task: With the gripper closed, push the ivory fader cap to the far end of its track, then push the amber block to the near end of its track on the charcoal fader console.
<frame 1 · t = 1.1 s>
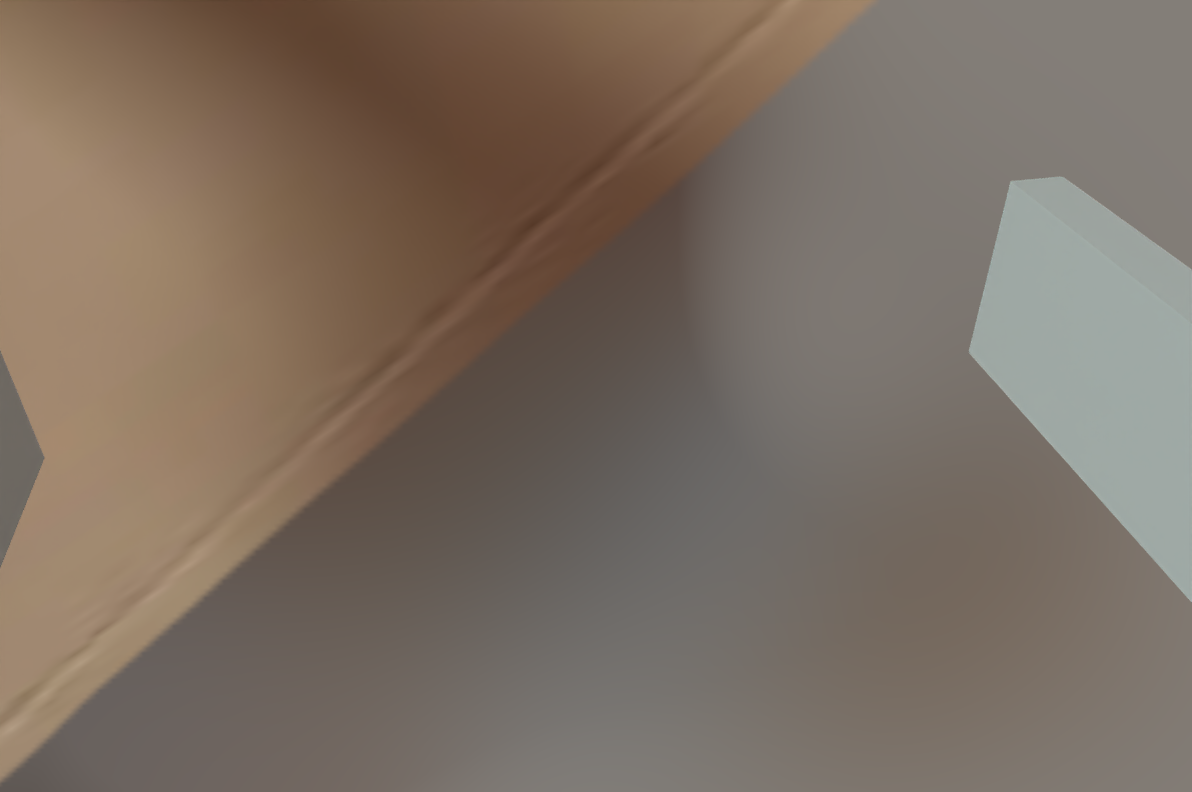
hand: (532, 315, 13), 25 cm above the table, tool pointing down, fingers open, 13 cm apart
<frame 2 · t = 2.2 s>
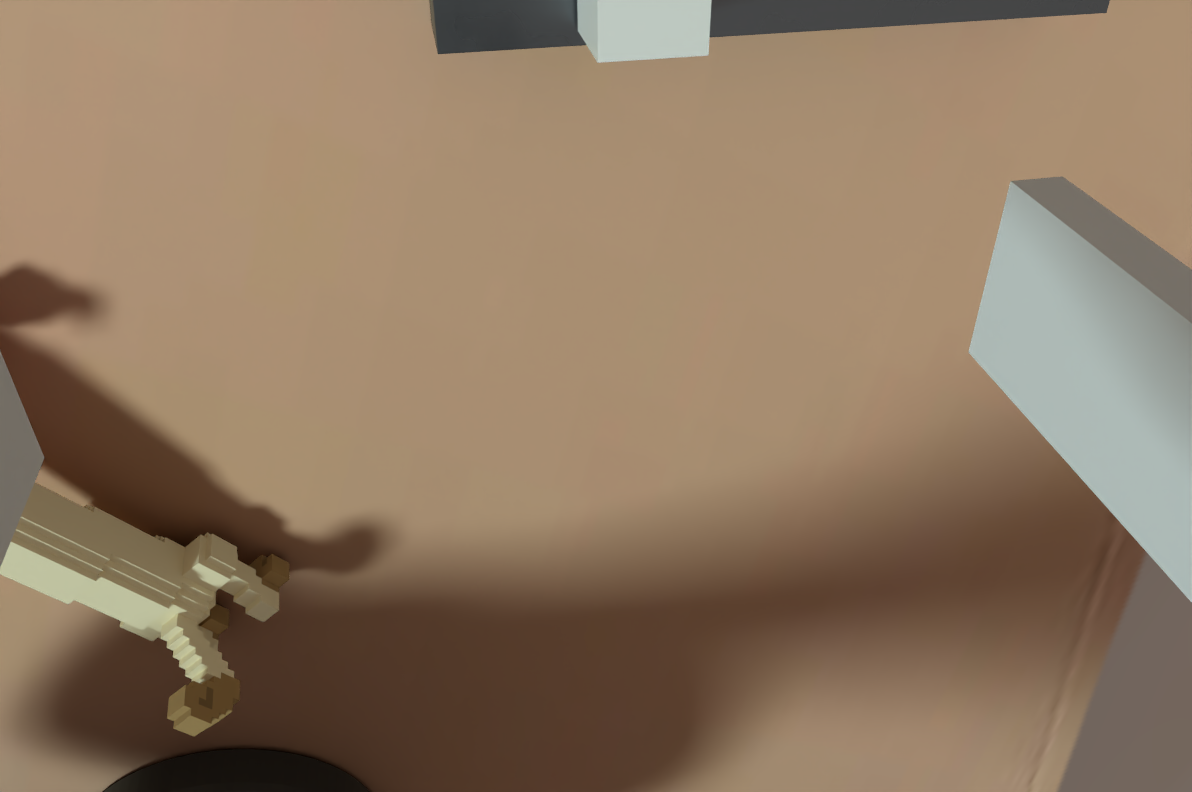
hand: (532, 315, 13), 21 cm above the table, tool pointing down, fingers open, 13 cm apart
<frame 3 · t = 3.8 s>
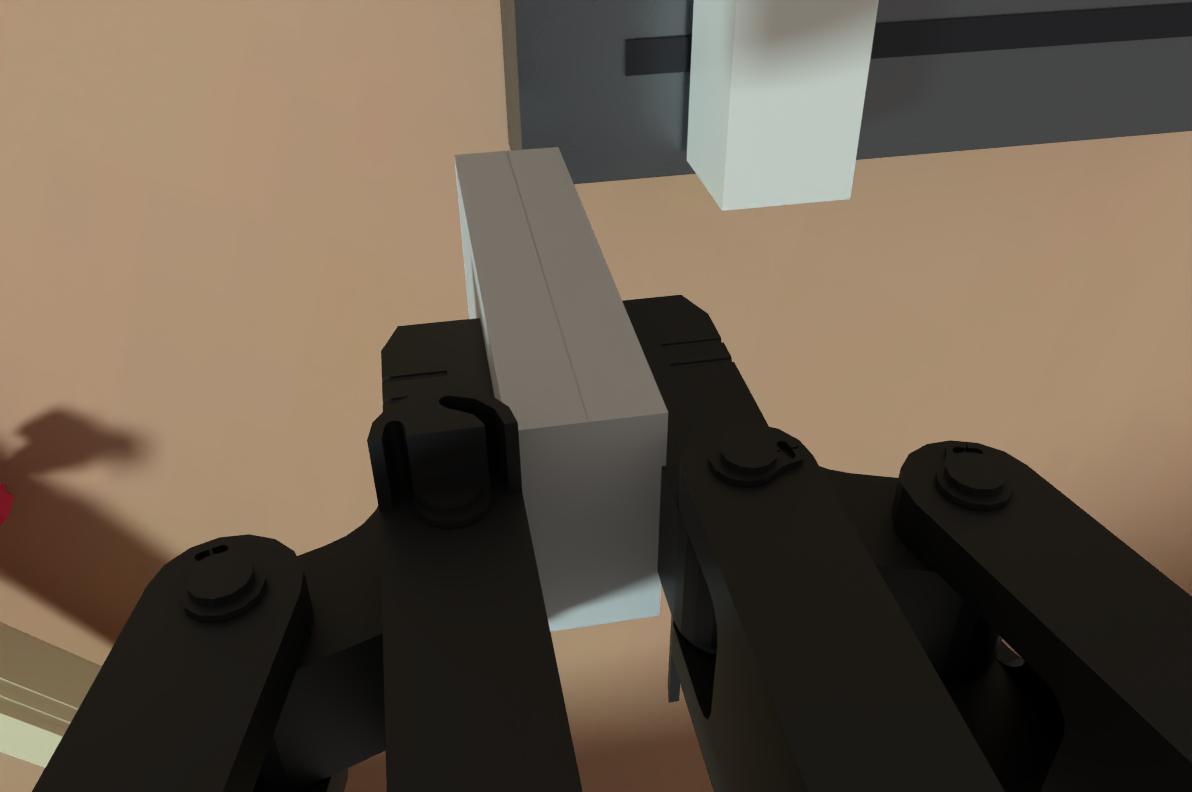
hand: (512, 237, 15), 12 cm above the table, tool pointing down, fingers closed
ivory fader: (774, 72, 23), point 5 cm above the table, slide at -5.0 cm
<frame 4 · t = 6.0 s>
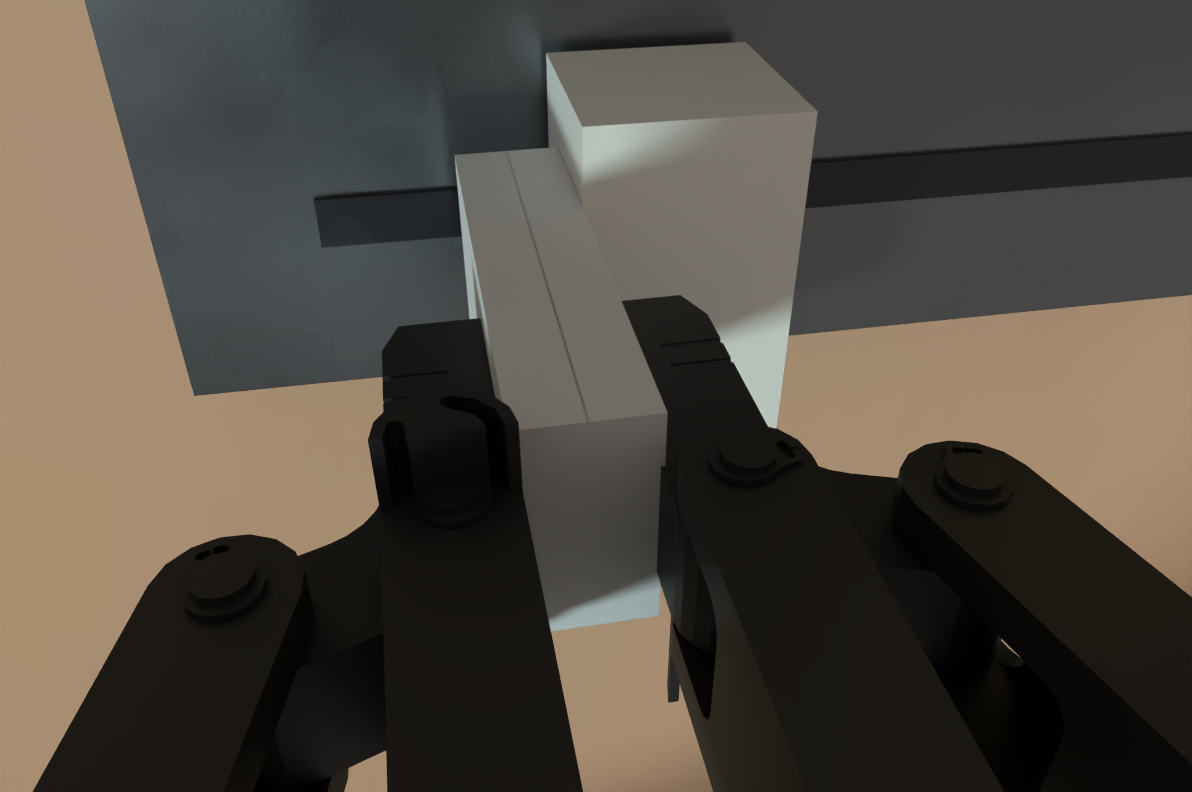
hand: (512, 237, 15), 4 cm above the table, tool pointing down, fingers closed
ivory fader: (664, 246, 15), point 5 cm above the table, slide at -2.9 cm, touching gripper
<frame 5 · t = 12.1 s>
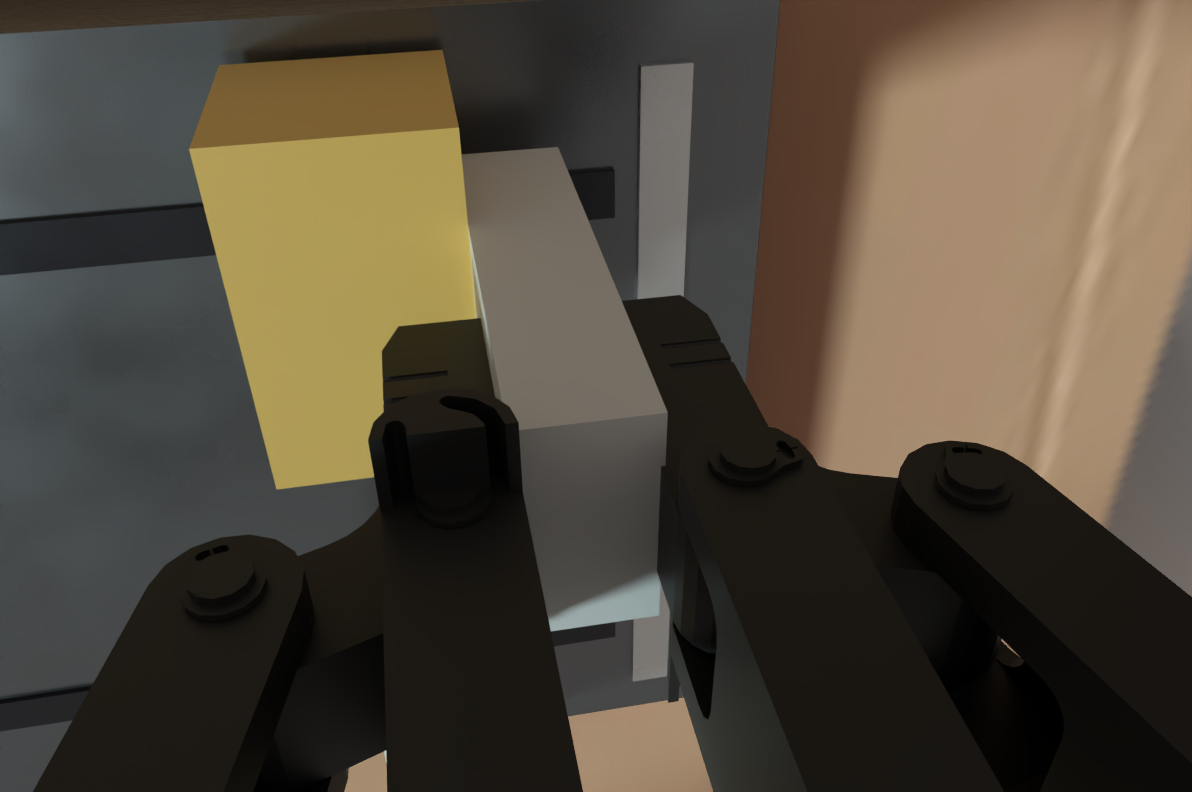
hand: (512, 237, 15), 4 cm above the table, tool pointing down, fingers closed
amber block: (359, 270, 14), point 5 cm above the table, slide at 4.0 cm, touching gripper
ivory fader: (468, 714, 20), point 5 cm above the table, slide at 4.7 cm
fader console: (192, 397, 20), on the table
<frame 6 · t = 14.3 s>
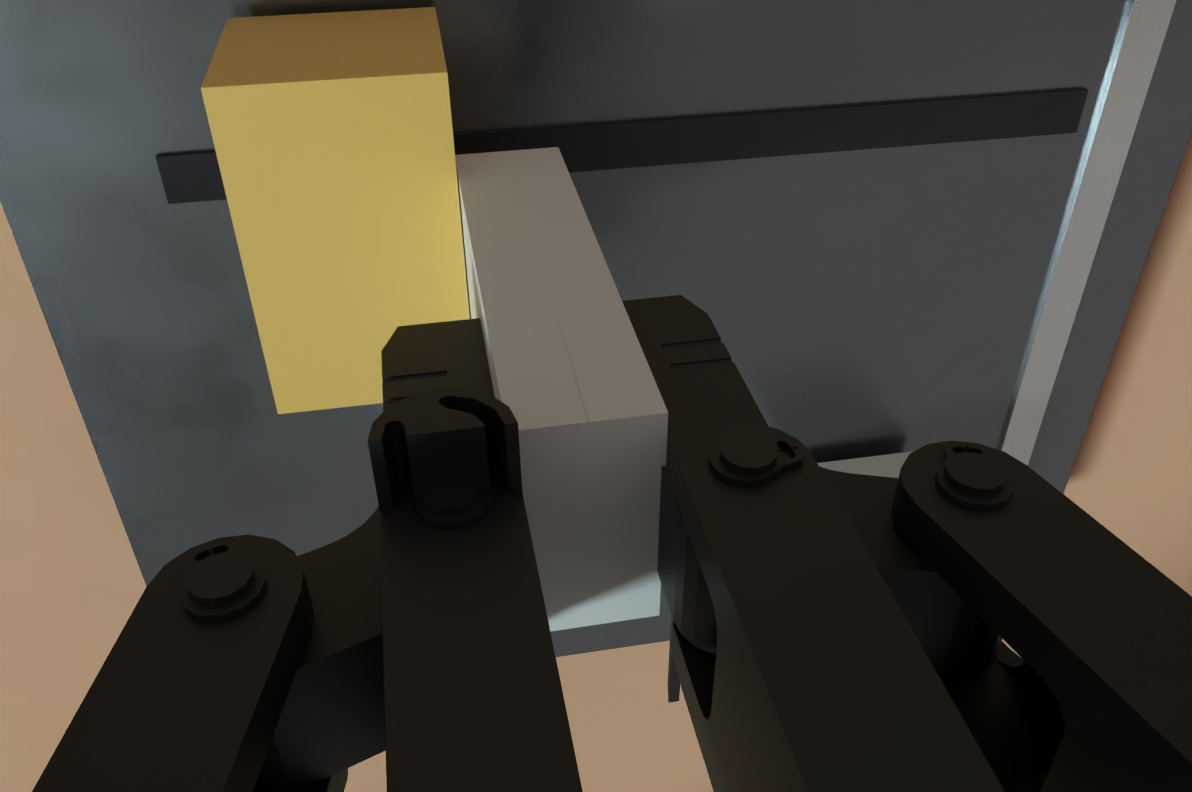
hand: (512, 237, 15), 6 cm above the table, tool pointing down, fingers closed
amber block: (356, 211, 15), point 5 cm above the table, slide at -4.9 cm
ivory fader: (862, 588, 23), point 5 cm above the table, slide at 4.7 cm
fader console: (615, 304, 23), on the table
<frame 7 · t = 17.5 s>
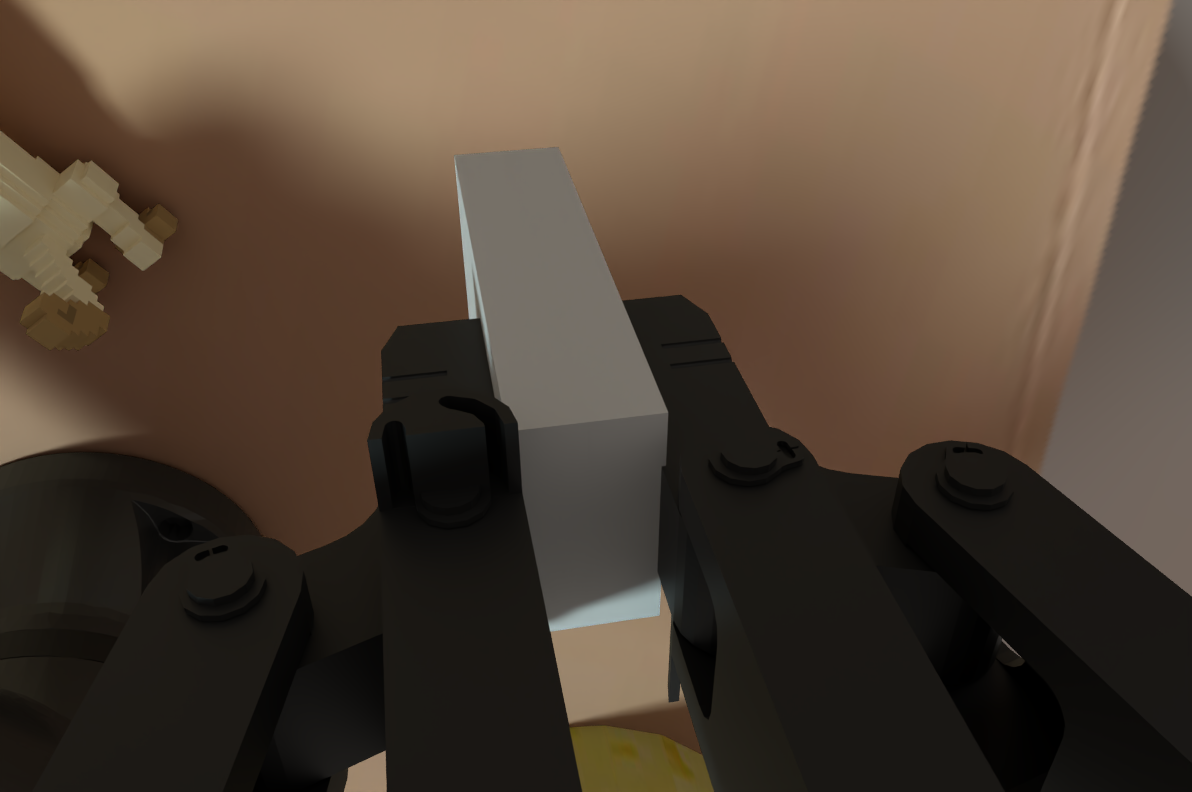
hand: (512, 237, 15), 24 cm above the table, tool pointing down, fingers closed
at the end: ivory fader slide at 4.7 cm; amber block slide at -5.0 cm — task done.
